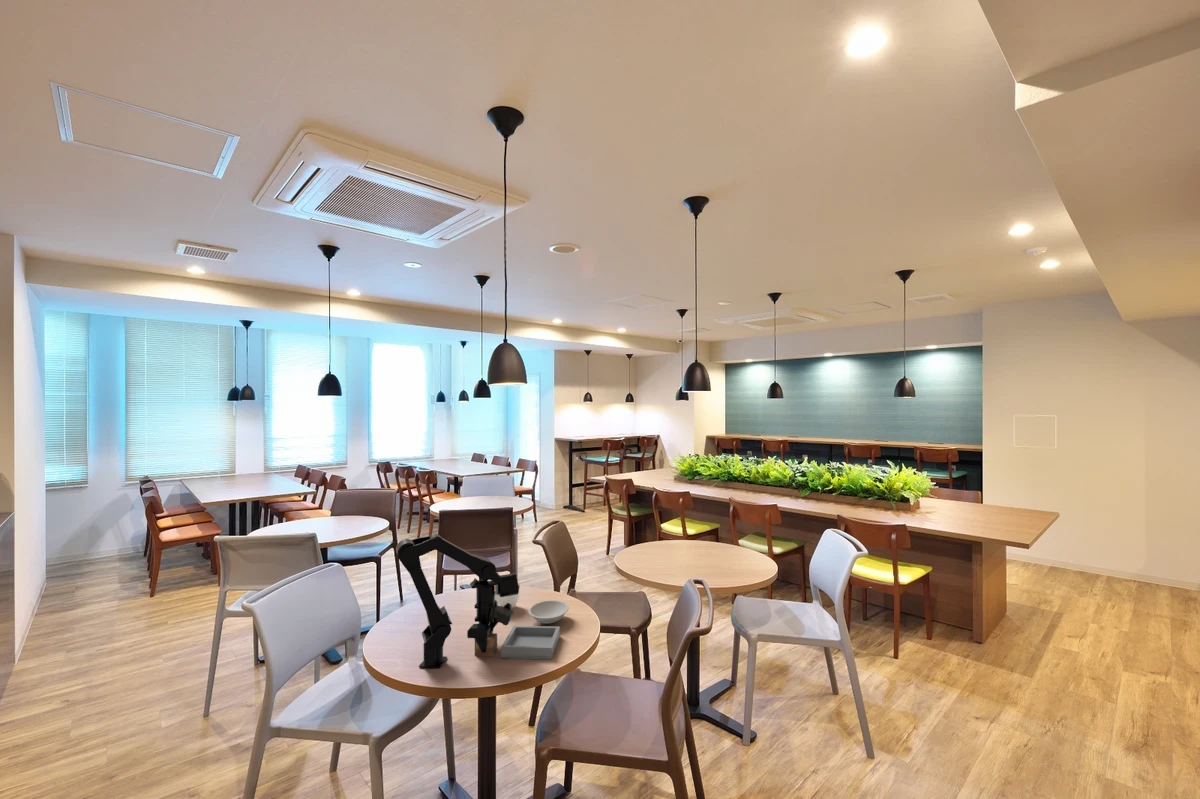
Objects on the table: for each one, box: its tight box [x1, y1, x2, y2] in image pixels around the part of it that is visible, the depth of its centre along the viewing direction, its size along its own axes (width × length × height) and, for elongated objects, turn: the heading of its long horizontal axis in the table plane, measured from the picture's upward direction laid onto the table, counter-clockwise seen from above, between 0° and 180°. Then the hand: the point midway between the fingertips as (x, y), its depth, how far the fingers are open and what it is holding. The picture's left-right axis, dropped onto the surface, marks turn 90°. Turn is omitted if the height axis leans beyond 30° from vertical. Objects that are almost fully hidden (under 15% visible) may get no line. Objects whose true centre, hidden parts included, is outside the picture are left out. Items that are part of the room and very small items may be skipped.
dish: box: [528, 599, 570, 625], centre depth 187 cm, size 18×14×5 cm
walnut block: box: [474, 632, 498, 657], centre depth 165 cm, size 4×6×5 cm
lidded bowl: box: [495, 582, 521, 609], centre depth 201 cm, size 13×13×11 cm
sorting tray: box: [500, 625, 561, 660], centre depth 168 cm, size 16×16×4 cm
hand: (486, 648), depth 165 cm, fingers closed on walnut block, 4 cm apart
